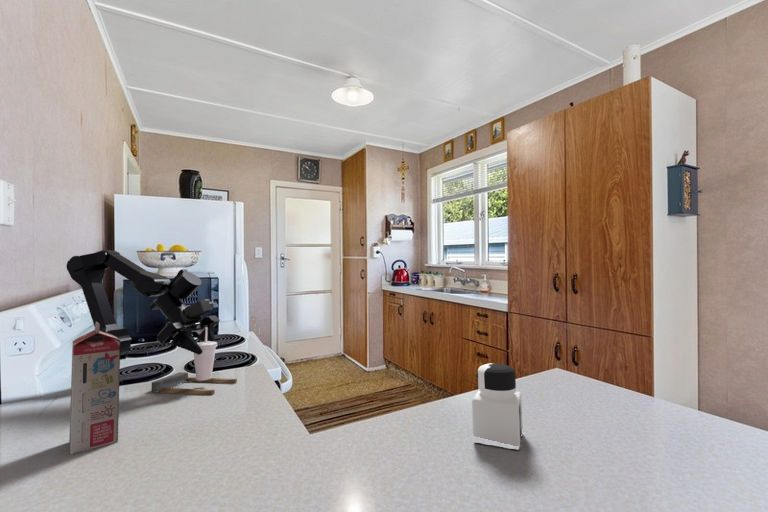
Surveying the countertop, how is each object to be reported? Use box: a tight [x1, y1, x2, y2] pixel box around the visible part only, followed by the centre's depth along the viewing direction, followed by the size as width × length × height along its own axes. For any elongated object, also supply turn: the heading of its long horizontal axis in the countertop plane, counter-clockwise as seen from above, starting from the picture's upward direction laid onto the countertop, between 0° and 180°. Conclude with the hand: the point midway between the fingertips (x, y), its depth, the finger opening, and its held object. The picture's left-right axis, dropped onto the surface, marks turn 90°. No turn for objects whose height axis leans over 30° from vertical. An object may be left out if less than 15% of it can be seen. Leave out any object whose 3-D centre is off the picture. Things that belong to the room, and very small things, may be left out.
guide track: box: [151, 371, 238, 396], centre depth 99 cm, size 18×11×2 cm, turn 80°
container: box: [471, 362, 524, 447], centre depth 65 cm, size 8×8×13 cm
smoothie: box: [193, 327, 218, 380], centre depth 99 cm, size 6×6×14 cm
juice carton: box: [68, 322, 121, 455], centre depth 67 cm, size 7×7×22 cm
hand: (209, 350), depth 99 cm, fingers closed on smoothie, 6 cm apart
